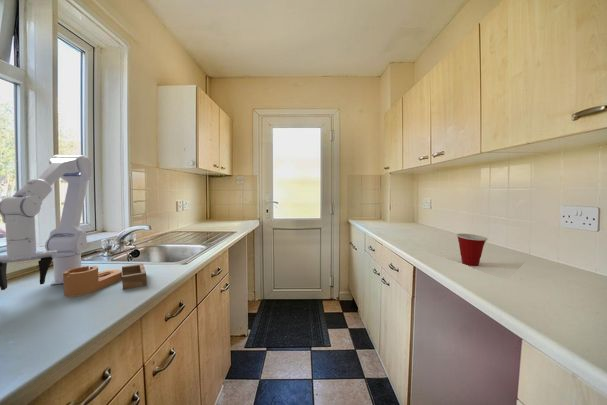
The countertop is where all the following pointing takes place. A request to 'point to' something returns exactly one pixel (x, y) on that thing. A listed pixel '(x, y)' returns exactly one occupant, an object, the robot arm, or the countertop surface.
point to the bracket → (88, 280)
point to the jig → (133, 276)
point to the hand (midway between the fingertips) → (23, 286)
